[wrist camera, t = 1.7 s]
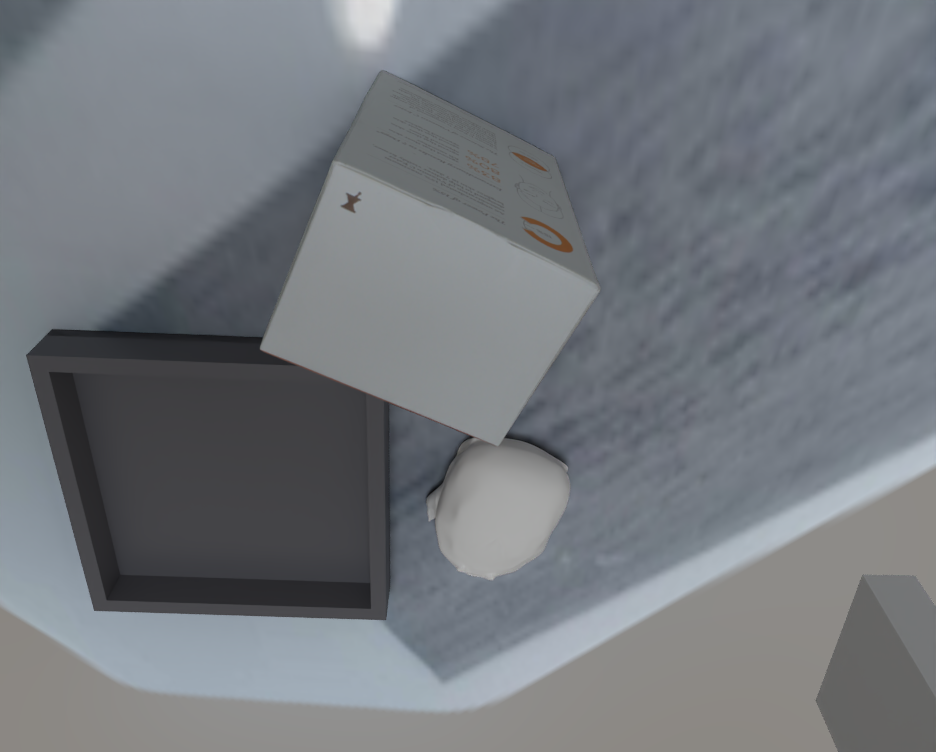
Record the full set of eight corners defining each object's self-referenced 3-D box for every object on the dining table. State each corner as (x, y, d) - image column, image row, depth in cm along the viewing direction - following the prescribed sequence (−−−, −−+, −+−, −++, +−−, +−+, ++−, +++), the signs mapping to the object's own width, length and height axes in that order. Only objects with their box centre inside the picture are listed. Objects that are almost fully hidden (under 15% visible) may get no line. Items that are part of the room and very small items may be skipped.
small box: (322, 206, 34) (250, 351, 23) (380, 65, 31) (331, 152, 20) (490, 284, 36) (500, 453, 25) (560, 157, 33) (607, 284, 22)
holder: (112, 577, 45) (94, 610, 43) (51, 329, 37) (26, 355, 35) (389, 586, 45) (386, 620, 43) (388, 342, 37) (383, 368, 35)
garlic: (526, 559, 45) (530, 611, 41) (411, 526, 43) (406, 577, 40) (586, 450, 41) (596, 496, 38) (462, 410, 40) (462, 455, 36)
